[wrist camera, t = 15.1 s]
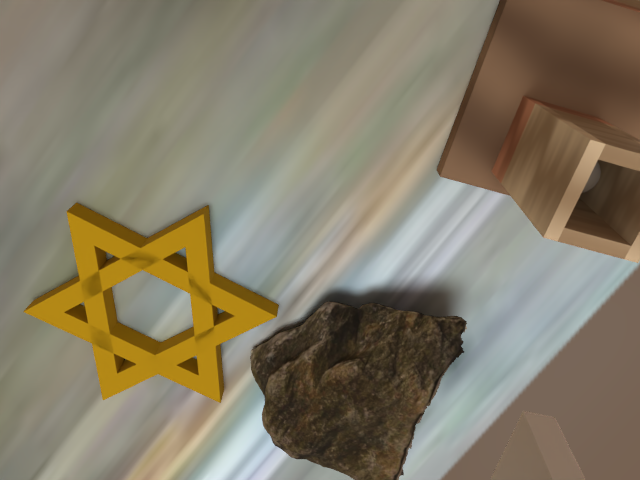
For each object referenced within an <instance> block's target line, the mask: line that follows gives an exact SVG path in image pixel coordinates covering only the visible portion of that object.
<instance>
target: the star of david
mask: <svg viewBox="0 0 640 480" xmlns="http://www.w3.org/2000/svg"><path fill="white" fill-rule="evenodd" d="M67 216H68V221H69V226H70V231H71V237H72V242H73V247H74V252H75V257H76V263H77V268H78V273H79V276H77V277H76V278H74V279H72V280H70V281H68V282H66V283H65V284H63V285H61V286H59V287H57V288H55V289H54V290H52V291H50V292H48V293H46V294H44V295H43V296H41V297H39V298H37V299H35V300H34V301H33V302H32V303H31V304H30V305H29V306H28V307H27V308H26V309H25V310H24V312H25V313H27V314H29V315H32V316H34V317H36V318H38V319H40V320H42V321H45V322H47V323H49V324H51V325H53V326H55V327H57V328H60V329H62V330H64V331H66V332H68V333H70V334H73V335H75V336H77V337H79V338H81V339H83V340H86V341H88V342H90V343H92V346H93V351H94V356H95V361H96V367H97V372H98V377H99V382H100V387H101V393H102V398H103V400H105V399H107V398H109V397H111V396H113V395H115V394H117V393H119V392H121V391H124V390H126V389H128V388H130V387H132V386H134V385H136V384H138V383H140V382H142V381H144V380H146V379H148V378H150V377H153V376H155V375H157V374H159V375H161V376H163V377H166V378H168V379H170V380H172V381H174V382H176V383H179V384H181V385H183V386H185V387H187V388H189V389H192V390H194V391H196V392H198V393H200V394H202V395H205V396H207V397H209V398H211V399H213V400H215V401H217V402H220V403H221V399H222V396H223V392H224V382H223V370H222V358H221V346H220V344H221V343H223V342H225V341H227V340H229V339H231V338H233V337H236V336H238V335H240V334H242V333H244V332H246V331H248V330H250V329H252V328H254V327H256V326H258V325H260V324H263V323H265V322H267V321H269V320H271V319H273V318H275V317H277V312H278V306H279V305H278V304H276V303H274V302H272V301H270V300H268V299H266V298H264V297H262V296H260V295H258V294H256V293H254V292H252V291H250V290H248V289H246V288H244V287H242V286H240V285H238V284H236V283H234V282H232V281H230V280H228V279H226V278H225V277H223V276H221V275H219V274H217V273H215V272H214V263H213V251H212V239H211V227H210V215H209V205H207V206H206V207H204V208H202V209H200V210H198V211H197V212H195V213H193V214H191V215H189V216H187V217H186V218H184V219H182V220H180V221H178V222H176V223H175V224H173V225H171V226H169V227H167V228H165V229H164V230H162V231H160V232H158V233H156V234H154V235H153V236H151V237H149V238H145V237H143V236H141V235H140V234H138V233H136V232H134V231H132V230H130V229H128V228H126V227H124V226H122V225H120V224H118V223H116V222H114V221H112V220H110V219H108V218H106V217H104V216H102V215H100V214H98V213H96V212H94V211H92V210H90V209H88V208H86V207H84V206H82V205H80V204H78V203H76V204H74V205H73V206H72V207H71V208H70V209H69V210H68V211H67ZM184 247H185V248H186V258H185V257H183V256H181V255H179V254H177V253H175V252H177V251H179V250H181V249H183V248H184ZM105 251H106V252H108V253H110V254H112V255H114V257H112V258H110V259H109V260H107V258H106V252H105ZM142 270H144V271H146V272H148V273H150V274H152V275H154V276H156V277H158V278H160V279H162V280H164V281H166V282H168V283H170V284H172V285H174V286H176V287H178V288H180V289H182V290H184V291H186V292H188V293H190V296H191V306H192V315H193V325H194V327H192V328H190V329H188V330H186V331H184V332H182V333H180V334H178V335H176V336H173V337H171V338H169V339H167V340H165V341H163V342H158V341H156V340H154V339H152V338H150V337H148V336H146V335H144V334H142V333H139V332H137V331H135V330H133V329H131V328H129V327H127V326H125V325H123V324H121V323H118V322H117V316H116V310H115V304H114V299H113V293H112V286H114V285H116V284H117V283H119V282H121V281H123V280H125V279H127V278H129V277H130V276H132V275H134V274H136V273H138V272H140V271H142ZM82 302H84V304H85V306H83V305H81V304H80V303H82ZM217 307H218V308H220V309H222V310H224V312H222V313H220V314H218V310H217ZM196 355H197V360H196V359H194V358H192V357H194V356H196ZM124 358H125V359H127V360H125V361H124Z"/></svg>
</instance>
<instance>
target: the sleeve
mask: <svg viewBox="0 0 640 480" xmlns="http://www.w3.org/2000/svg"><path fill="white" fill-rule="evenodd" d="M602 1H605V2H608V3H611V4H615V5H618V6H621V7H624V8H627V9H631V10H634V11H637V12H640V0H602Z"/></svg>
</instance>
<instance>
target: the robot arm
mask: <svg viewBox="0 0 640 480" xmlns="http://www.w3.org/2000/svg"><path fill="white" fill-rule="evenodd" d="M490 480H586V479H585V477H584V475H583V473H582V471H581V469H580V467H579V465H578V463H577V461H576V459H575V457H574V455H573V453H572V451H571V449H570V447H569V445H568V443H567V441H566V439H565V437H564V435H563V433H562V431H561V429H560V427H559V425H558V423H557V421H556V419H555V417H551V416H546V415H541V414H536V413H531V412H526V411H523V412H522V414H521V417H520V419H519V420H518V423H517V425H516V427H515V429H514V431H513V433H512V435H511V437H510V439H509V441H508V443H507V446H506V448H505V450H504V452H503V454H502V456H501V458H500V460H499V462H498V464H497V466H496V469H495V471H494V473H493V475H492V477H491V479H490Z"/></svg>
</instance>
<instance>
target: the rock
mask: <svg viewBox="0 0 640 480" xmlns="http://www.w3.org/2000/svg"><path fill="white" fill-rule="evenodd" d="M466 322H467V321H465V320H464V319H463V318H461V317H458V316H447V317H434V316H427V315H423V314H420V313H418V312H412V311H402V310H397V309H393V308H391V307H387V306H383V305H380V304H377V303H368V304H364V305H362V306H361V307H360V308H355V307H352V306H349V305H345V304H342V303H337V302H331V301H330V302H326V303H324V304H323V305H322V306H321V307H320V308H319V309H318V310H317V311H316V312H315V313H314V314H313V315H312V316H310V317H309V318H308V319H307V320H306V321H305V323H304V324H303V325H301V326H299V327H296V328H293V329H290V330H286V331H283V332H281V333H278V334H276V335H275V336H274V337H272V338H271V339H270V340H269V341H268V342H266V343H263V344H261V345H259V346H258V347H257V348H255V349H252V350H251V358H250V359H251V370H252V373H253V376H254V378H255V381H256V382H257V384H258V385H259V387H260V389H261V390H262V392H263V394H264V396H265V405H264V408H263V412H262V421H263V426H264V428H265V429H266V431H267V432H268V433H269V434H270V436H271V438H272V441H273V443H274V445H275V446H277V447H279V448H281V449H282V450H283V451H284V452H286V453H287V454H288V455H289V456H290V457H292V458H295V459H307V460H309V461H311V462H313V463H316V464H320V465H321V466H323V467H327V468H331V469H334V470H336V471H339V472H341V473H344V474H346V475H348V476H350V477H351V478H353V479H355V480H399V477H400V475H403V474H404V473H403V469H402V467H403V464H404V463H405V460H406V456H407V455H408V449H409V448H411V447H412V445H411V444H412V440H413V439H414V437H413V436H414V431H415V425H416V424H418V423H419V422H420V420H421V418H422V415H423V414H424V412H425V411H424V410H425V409H426V408H427V407H426V406H429V405H430V403H431V400H432V399H433V397H434V396H435V394H436V392H437V389H438V388H439V384H440V381H441V378H442V376H443V375H444V373H445V372H446V370H447V369H448V367H449V366H450V365H451V363H452V362H454V360H455V359H456V357H457V358H458V357H459V356H460V355H461V353H464V351H463V348H462V347H461V345H462V343H463V341H462V340H461V334H462V333H463V332H465V329H467V327H466V324H467V323H466Z"/></svg>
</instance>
